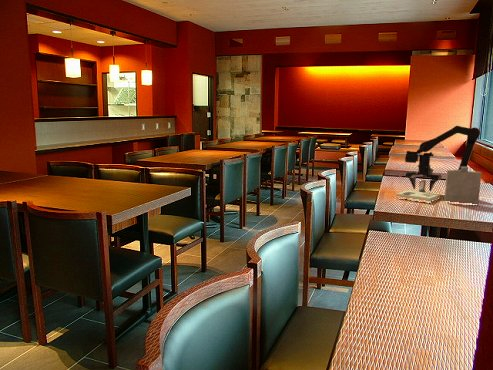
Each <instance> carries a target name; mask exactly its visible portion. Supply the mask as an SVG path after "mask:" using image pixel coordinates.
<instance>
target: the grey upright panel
mask: <svg viewBox="0 0 493 370" xmlns="http://www.w3.org/2000/svg"><path fill="white" fill-rule="evenodd" d="M468 170H469V167H468V166H467V167H464V166H463V167H461V170H458V169H448V170H446V177H445V178H446V179H445V191H444V200H443V201H450V202H459V203H472V204H478V205H479V201H480V191H481V190H480V189H481V182H482V181H481V180H482V172H481V171H474V170H473V171H468Z"/></svg>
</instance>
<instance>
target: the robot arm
mask: <svg viewBox="0 0 493 370" xmlns="http://www.w3.org/2000/svg"><path fill="white" fill-rule="evenodd" d="M456 134H460V135H464V136H466V137H467V138H466V145H465V148H464V150H463V151H464V152H463V155H462V158H461V161H460V163H459V167H458V169H457V170H461V167H463V166H464V167H468V165H469V161H470V158H471V156H472V152H473V150H474V146H475V144H476V143H477V142H478V141H477V140H478V139H479V137H480V135H481V129H480V128H478V127H471V128H470V127H466V126H462V125H461V126H460V125H455V126H454V127H453V128H451V129H448V130H447V131H445V132H443V133H441V134H440V135H438V136H436V137H434V138H432V139H428V140H426V141H424V142H422V143H420V145H419V147H418V149H417V150H416V151H413V150H412V151H411V150H407V151H406V153H405V158H404V162H405V163H409V164H410V163H411V164H412V163H413V164H416V163H417V162H418V165H417V167H418V171H417V172H416V171H415V170H414V171H412V170H409V171H406V173H405V177H407V179H408V180H409V181H410V183H411V186H412V188H413V190H415V189H416V179H417V177H419V178H428V179H430V180H429V187H428V188H429V192H431V191H432V190H433V188H434V186H435V184H436V182H438V181H440V180H442V174H441V173H440V174H438V173H433V172H434V169H433V168H431V157H434V156H435V154H434V153H433V152H432V151H431V150H432V149H433V148H434V147H436V146H437V145H439V144H440V143H442V142H444V141H445V140H447V139H449V138H451V137H453V136H454V135H456ZM429 151H430V152H429Z"/></svg>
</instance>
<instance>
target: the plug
mask: <svg viewBox="0 0 493 370" xmlns="http://www.w3.org/2000/svg"><path fill="white" fill-rule="evenodd" d="M426 186H427V180H426V179H419V184H418V192H425V193H426Z"/></svg>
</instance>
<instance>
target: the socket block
mask: <svg viewBox="0 0 493 370" xmlns="http://www.w3.org/2000/svg"><path fill="white" fill-rule="evenodd" d="M397 196H400V197H406V198H413V199H419V200H426V201H432V200H435V199H438V198H440V197H441V194H437V193H430V192H426V191H425V192H419V191H417V190H410V189H407V190H403V191H401V192H397V193H396V197H397Z"/></svg>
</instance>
